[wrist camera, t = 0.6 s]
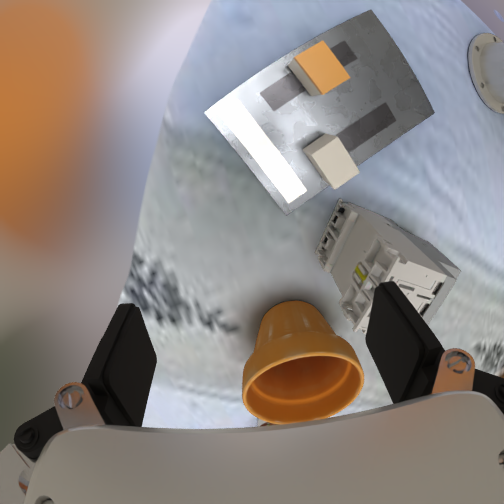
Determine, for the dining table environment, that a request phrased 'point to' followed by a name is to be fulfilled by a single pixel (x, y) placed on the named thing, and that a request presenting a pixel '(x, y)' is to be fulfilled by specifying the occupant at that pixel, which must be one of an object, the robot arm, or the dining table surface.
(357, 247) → the circuit breaker
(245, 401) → the flower pot
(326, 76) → the lever
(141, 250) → the dining table surface
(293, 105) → the slotted slider board
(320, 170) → the on lever
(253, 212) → the dining table surface
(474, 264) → the dining table surface
